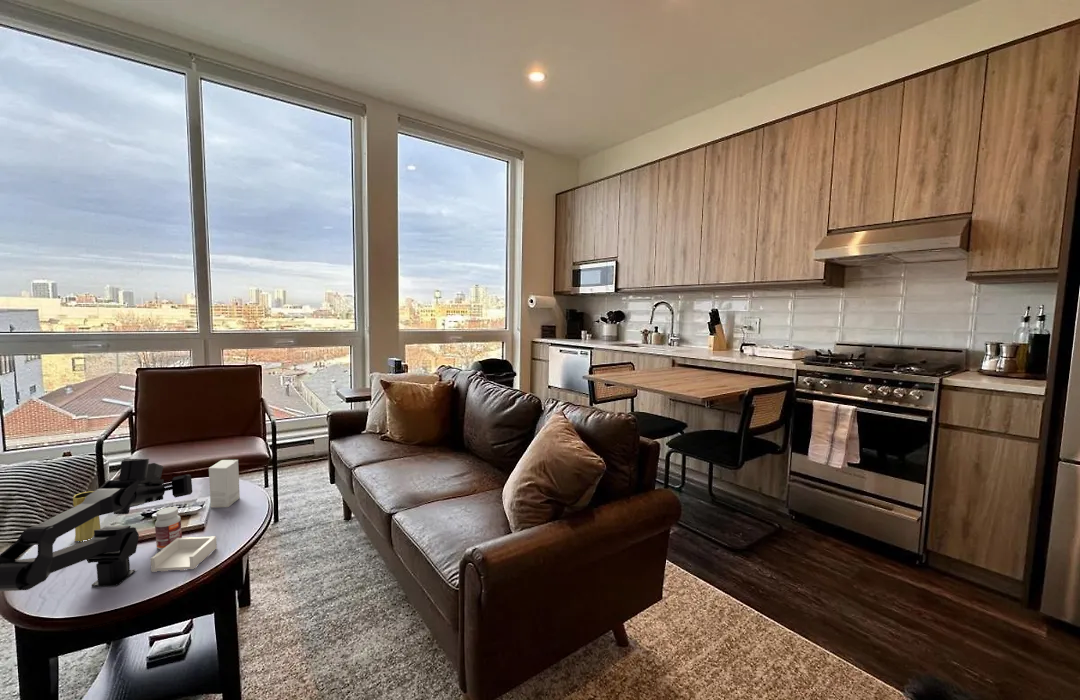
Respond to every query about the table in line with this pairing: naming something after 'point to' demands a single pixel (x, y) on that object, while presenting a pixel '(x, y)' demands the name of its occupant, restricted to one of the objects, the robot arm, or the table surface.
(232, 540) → the table surface
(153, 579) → the table surface
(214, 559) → the table surface
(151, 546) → the table surface
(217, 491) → the skincare box
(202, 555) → the end holder
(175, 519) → the pill bottle
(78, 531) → the vase
